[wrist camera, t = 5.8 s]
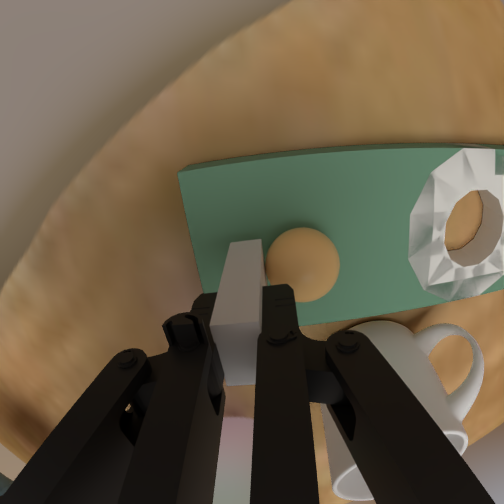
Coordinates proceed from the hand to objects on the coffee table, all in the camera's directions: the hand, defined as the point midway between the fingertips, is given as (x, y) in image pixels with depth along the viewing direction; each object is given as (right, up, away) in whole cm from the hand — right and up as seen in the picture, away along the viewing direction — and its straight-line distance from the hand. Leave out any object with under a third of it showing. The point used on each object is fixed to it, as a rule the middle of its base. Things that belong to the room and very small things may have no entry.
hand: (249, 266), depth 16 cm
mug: (+10, -7, +7) cm, 14 cm away
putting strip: (+8, +2, +3) cm, 9 cm away
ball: (+2, 0, 0) cm, 3 cm away
